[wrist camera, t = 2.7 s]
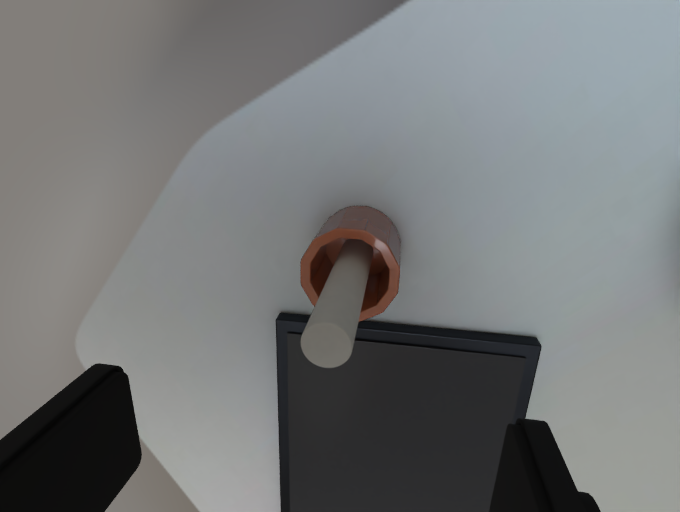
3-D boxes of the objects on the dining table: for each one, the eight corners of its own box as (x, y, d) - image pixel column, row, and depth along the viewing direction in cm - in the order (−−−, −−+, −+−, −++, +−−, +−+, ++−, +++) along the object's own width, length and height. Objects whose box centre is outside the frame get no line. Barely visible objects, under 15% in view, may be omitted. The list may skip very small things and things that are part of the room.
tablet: (284, 530, 33) (280, 544, 32) (279, 312, 27) (274, 321, 26) (486, 564, 31) (489, 580, 30) (537, 337, 25) (543, 348, 23)
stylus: (342, 260, 24) (300, 365, 14) (343, 231, 24) (300, 319, 14) (373, 263, 24) (351, 371, 14) (375, 234, 23) (353, 325, 13)
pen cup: (319, 278, 25) (300, 316, 21) (320, 202, 24) (300, 225, 19) (396, 285, 25) (395, 325, 20) (403, 208, 23) (403, 232, 19)
